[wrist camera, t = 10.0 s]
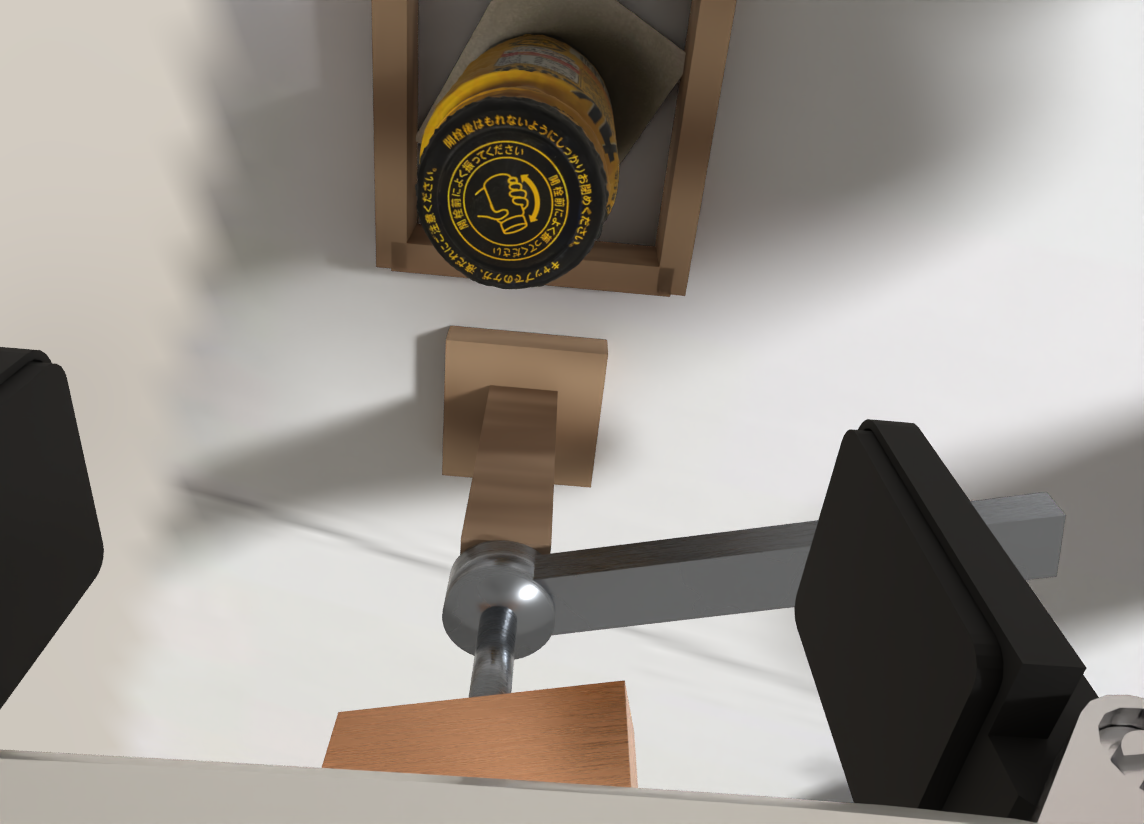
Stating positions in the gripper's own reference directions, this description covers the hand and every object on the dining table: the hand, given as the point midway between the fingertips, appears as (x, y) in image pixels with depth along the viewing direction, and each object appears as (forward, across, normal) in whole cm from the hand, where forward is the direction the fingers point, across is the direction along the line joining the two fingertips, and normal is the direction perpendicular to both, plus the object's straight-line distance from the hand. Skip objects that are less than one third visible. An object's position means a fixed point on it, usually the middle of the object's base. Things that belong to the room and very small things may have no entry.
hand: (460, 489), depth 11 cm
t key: (+14, -7, +12) cm, 19 cm away
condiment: (+26, -1, 0) cm, 26 cm away
